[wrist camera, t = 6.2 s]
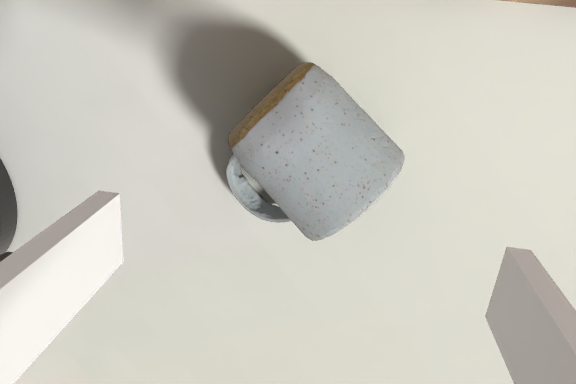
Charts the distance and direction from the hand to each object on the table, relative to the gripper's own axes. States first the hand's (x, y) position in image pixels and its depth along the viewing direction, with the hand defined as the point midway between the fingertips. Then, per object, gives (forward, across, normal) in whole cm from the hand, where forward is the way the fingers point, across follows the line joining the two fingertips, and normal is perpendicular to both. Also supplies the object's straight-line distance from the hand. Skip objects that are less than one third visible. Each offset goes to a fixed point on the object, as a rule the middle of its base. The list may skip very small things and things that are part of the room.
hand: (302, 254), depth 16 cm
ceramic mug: (+16, -1, -1) cm, 16 cm away
